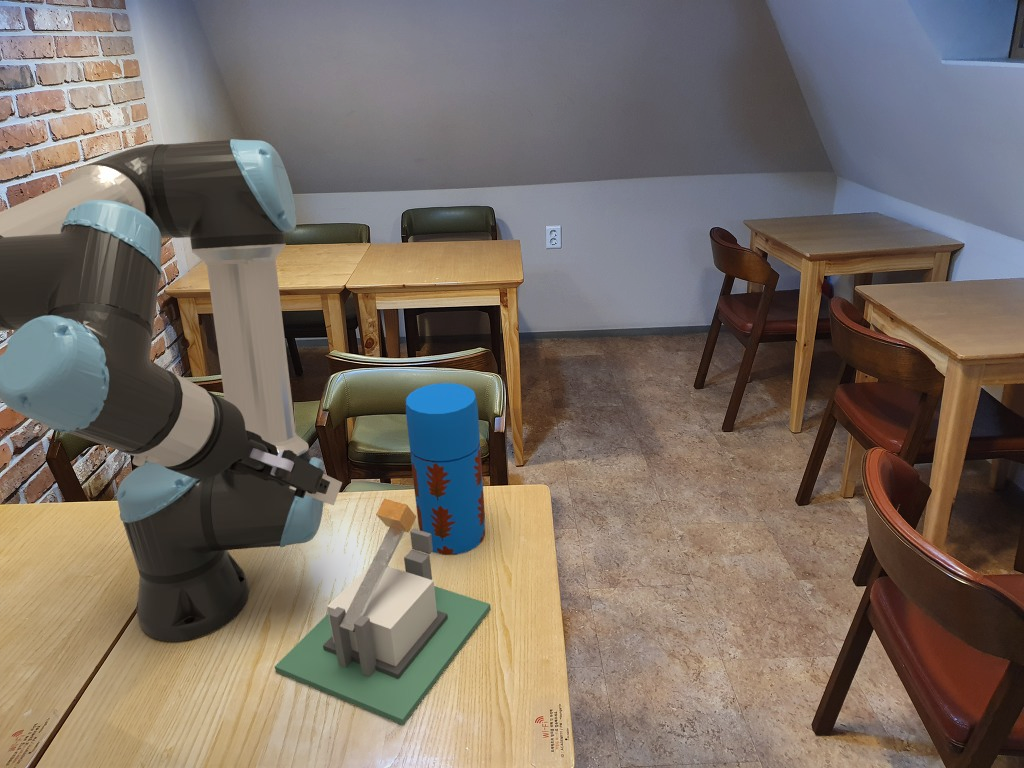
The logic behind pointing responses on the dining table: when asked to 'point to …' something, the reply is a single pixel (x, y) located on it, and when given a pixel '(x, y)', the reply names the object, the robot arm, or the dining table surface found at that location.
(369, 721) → the dining table surface
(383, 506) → the grey and orange bar
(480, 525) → the thermos
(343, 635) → the lever on green base
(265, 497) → the robot arm
